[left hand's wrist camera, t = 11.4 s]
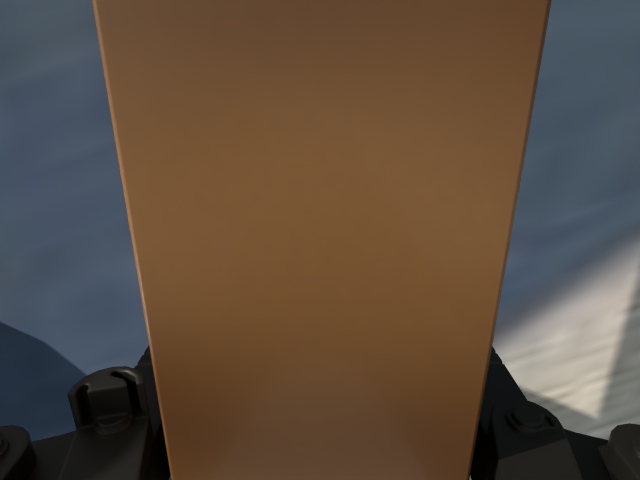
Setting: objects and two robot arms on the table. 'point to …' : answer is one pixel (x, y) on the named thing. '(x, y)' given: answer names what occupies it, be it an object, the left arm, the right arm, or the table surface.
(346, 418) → the beam
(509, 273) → the table surface
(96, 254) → the table surface
